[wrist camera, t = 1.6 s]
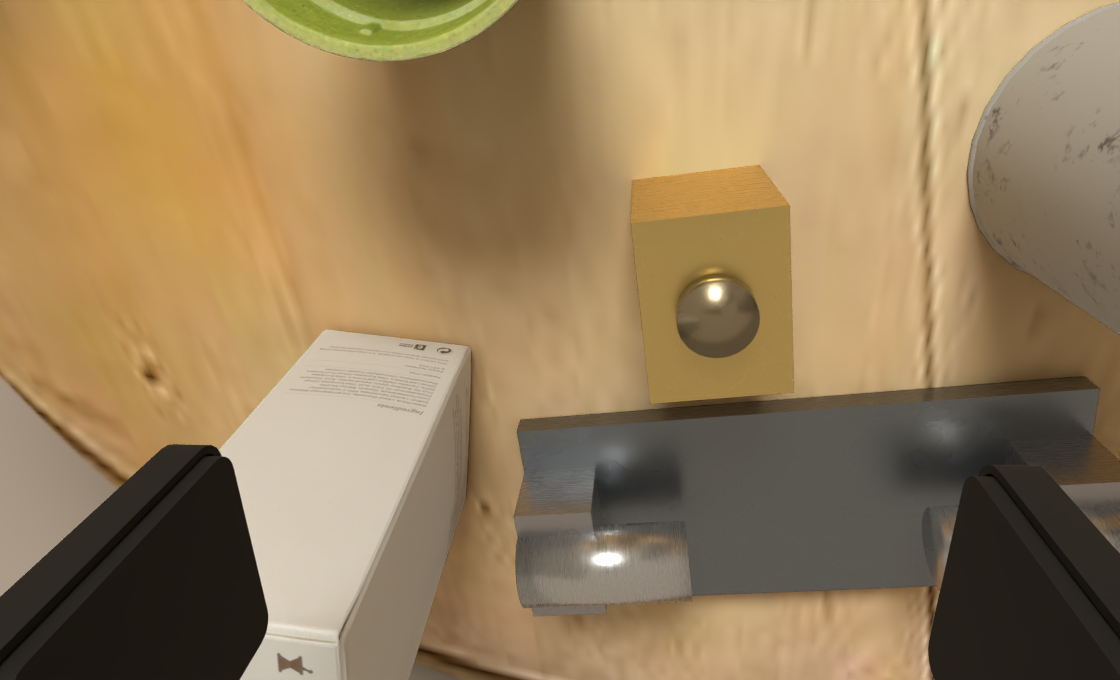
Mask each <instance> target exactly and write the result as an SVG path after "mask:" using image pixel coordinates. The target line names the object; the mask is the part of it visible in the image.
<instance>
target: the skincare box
mask: <svg viewBox="0 0 1120 680" xmlns="http://www.w3.org/2000/svg"><path fill="white" fill-rule="evenodd" d="M470 392H471V349H470V348H469V347H467V346H463V345H455V344H446V343H438V342H430V341H422V340H414V339H406V338H397V337H389V336H379V335H370V334H361V333H353V332H345V331H337V330H329V329H326V330H324V331H323V332H322V333H321V334H320V335H319V336H318V338H317V339H316V340H315V341H314V342H313V343H312V345H311V346H310V347H309V348H308V349H307V350H306V351H305V352H304V354H303V355H302V356H301V357H300V358H299V359H298V360H297V362H296V363H295V364H294V365H293V366H292V367H291V368H290V369H289V371H288V372H287V373H286V374H285V375H284V376H283V377H282V379H281V380H280V381H279V382H278V383H277V384H276V386H275V387H274V388H273V389H272V390H271V391H270V392H269V394H268V395H267V396H266V397H265V398H264V399H263V400H262V401H261V403H260V404H259V405H258V406H257V407H256V408H255V410H254V411H253V412H252V413H251V414H250V415H249V416H248V417H247V419H246V420H245V421H244V422H243V423H242V424H241V425H240V427H239V428H238V429H237V430H236V431H235V432H234V434H233V435H232V436H231V437H230V438H229V439H228V440H227V441H226V443H225V444H224V445H223V446H222V447H221V448H220V449H219V452H220V453H221V455H222V456H223V457H227V458H229V459H230V461H231V462H232V464H233V467H234V471H235V475H236V479H237V484H238V488H239V492H240V496H241V500H242V505H243V509H244V513H245V517H246V521H247V526H248V530H249V534H250V538H251V542H252V546H253V551H254V555H255V559H256V563H257V567H258V572H259V576H260V580H261V584H262V588H263V593H264V597H265V601H266V605H267V609H268V626H267V631H266V634H265V637H264V639H263V641H262V643H261V645H260V647H259V648H258V650H257V652H256V653H255V655H254V657H253V658H252V660H251V662H250V663H249V665H248V667H247V668H246V670H245V672H244V673H243V675H242V677H241V678H240V680H409V677H410V674H411V670H412V667H413V664H414V661H415V658H416V655H417V652H418V648H419V645H420V642H421V639H422V636H423V633H424V629H425V626H426V623H427V620H428V617H429V613H430V610H431V607H432V604H433V600H434V597H435V594H436V591H437V587H438V584H439V581H440V578H441V574H442V571H443V568H444V565H445V562H446V558H447V555H448V552H449V549H450V546H451V543H452V540H453V537H454V533H455V530H456V527H457V524H458V521H459V518H460V515H461V512H462V509H463V506H464V503H465V499H466V487H467V468H468V444H469V420H470Z"/></svg>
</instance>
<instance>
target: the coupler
mask: <svg viewBox="0 0 1120 680" xmlns="http://www.w3.org/2000/svg"><path fill="white" fill-rule="evenodd" d="M631 230H632V239H633V248H634V257H635V267H636V276H637V285H638V294H639V303H640V313H641V322H642V331H643V340H644V349H645V359H646V368H647V377H648V386H649V395H650V404H654V403H667V402H679V401H692V400H705V399H717V398H730V397H743V396H755V395H768V394H781V393H793V392H794V365H793V322H792V280H791V237H790V205H789V203H788V202H787V201H786V199H785V198H784V197H783V196H782V194H781V193H780V192H779V190H778V189H777V188H776V186H775V185H774V184H773V182H772V181H771V180H770V178H769V177H768V176H767V174H766V173H765V172H764V170H763V169H762V168H761V166H760V165H753V166H745V167H737V168H728V169H720V170H712V171H704V172H696V173H688V174H679V175H671V176H663V177H655V178H647V179H639V180H633V184H632V207H631Z"/></svg>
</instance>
